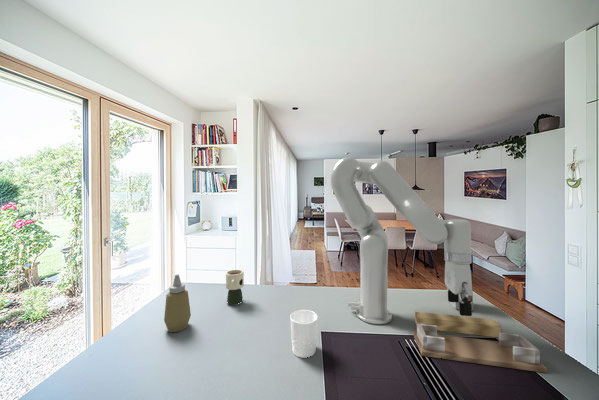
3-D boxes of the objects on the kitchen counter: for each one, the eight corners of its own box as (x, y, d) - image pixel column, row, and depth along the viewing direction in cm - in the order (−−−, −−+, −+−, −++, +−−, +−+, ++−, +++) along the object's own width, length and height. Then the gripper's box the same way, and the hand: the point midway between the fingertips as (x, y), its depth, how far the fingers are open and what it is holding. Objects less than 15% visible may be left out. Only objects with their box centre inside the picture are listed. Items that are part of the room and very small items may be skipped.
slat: (417, 328, 82) (418, 317, 81) (415, 322, 85) (415, 311, 85) (500, 338, 76) (501, 326, 76) (493, 331, 80) (493, 319, 80)
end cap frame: (421, 355, 68) (421, 339, 67) (413, 335, 77) (413, 320, 77) (546, 373, 61) (547, 354, 61) (520, 348, 71) (520, 332, 71)
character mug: (242, 309, 95) (241, 276, 95) (223, 309, 94) (223, 276, 94) (245, 297, 106) (245, 267, 105) (228, 297, 105) (228, 268, 105)
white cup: (309, 363, 65) (309, 326, 64) (284, 353, 69) (284, 318, 68) (322, 347, 71) (322, 314, 71) (299, 339, 75) (299, 307, 75)
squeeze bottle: (196, 324, 84) (195, 273, 83) (175, 337, 76) (174, 280, 76) (179, 319, 87) (179, 269, 87) (158, 331, 80) (157, 277, 79)
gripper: (436, 250, 89) (438, 296, 90) (455, 264, 72) (457, 320, 73) (459, 251, 88) (460, 298, 88) (484, 264, 71) (485, 322, 71)
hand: (459, 308), depth 80 cm, fingers open, 9 cm apart
